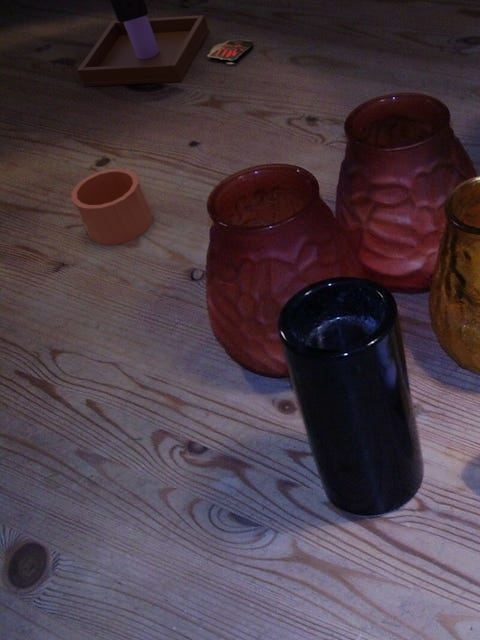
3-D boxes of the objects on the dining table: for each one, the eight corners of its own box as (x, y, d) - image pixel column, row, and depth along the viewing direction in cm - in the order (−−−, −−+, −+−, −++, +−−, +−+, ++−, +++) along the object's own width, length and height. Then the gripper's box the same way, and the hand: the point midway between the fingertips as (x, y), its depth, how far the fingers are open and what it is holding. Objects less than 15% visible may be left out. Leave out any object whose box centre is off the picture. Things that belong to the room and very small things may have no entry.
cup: (81, 250, 89) (61, 209, 85) (104, 209, 93) (85, 169, 89) (143, 248, 88) (125, 207, 85) (163, 207, 92) (146, 167, 89)
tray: (83, 86, 110) (76, 70, 108) (118, 36, 117) (112, 20, 116) (181, 82, 108) (175, 65, 107) (209, 31, 116) (204, 15, 114)
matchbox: (256, 41, 112) (255, 37, 112) (240, 65, 109) (239, 61, 109) (218, 41, 113) (216, 37, 113) (201, 65, 110) (199, 61, 110)
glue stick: (132, 60, 112) (99, -27, 105) (140, 48, 114) (108, -38, 106) (155, 59, 111) (123, -29, 104) (163, 46, 113) (132, -40, 106)
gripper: (13, -184, 101) (78, -19, 113) (33, -136, 89) (104, 42, 101) (87, -201, 102) (144, -37, 114) (117, -156, 91) (176, 21, 103)
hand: (125, 0), depth 108 cm, fingers open, 9 cm apart
